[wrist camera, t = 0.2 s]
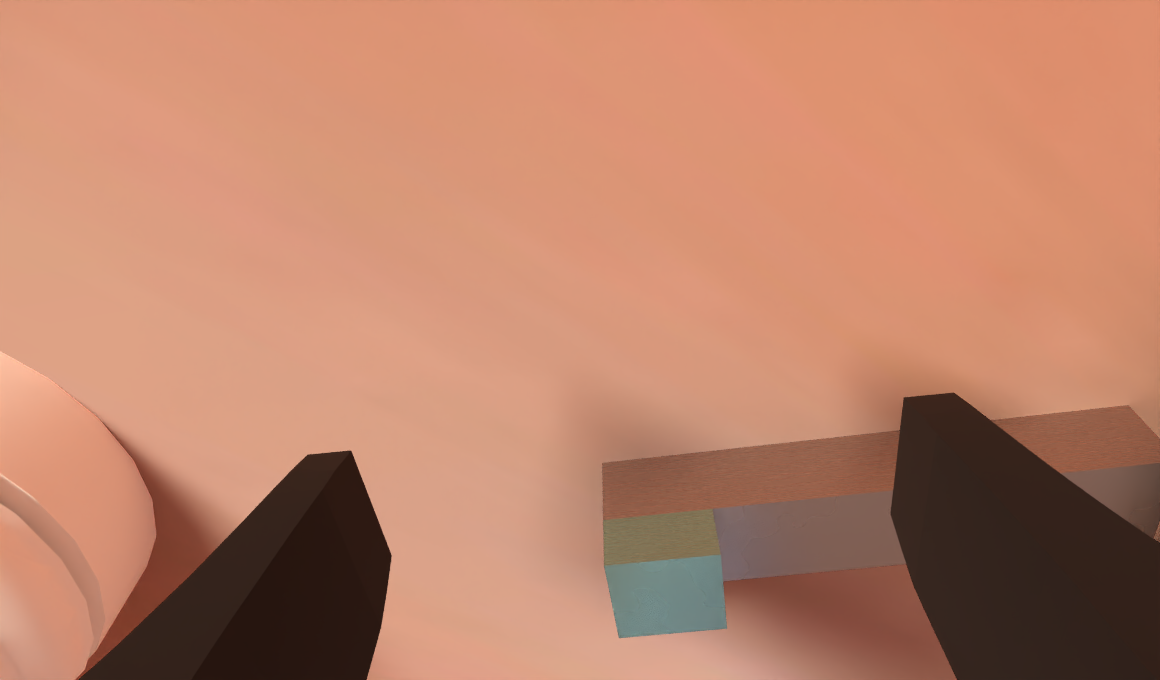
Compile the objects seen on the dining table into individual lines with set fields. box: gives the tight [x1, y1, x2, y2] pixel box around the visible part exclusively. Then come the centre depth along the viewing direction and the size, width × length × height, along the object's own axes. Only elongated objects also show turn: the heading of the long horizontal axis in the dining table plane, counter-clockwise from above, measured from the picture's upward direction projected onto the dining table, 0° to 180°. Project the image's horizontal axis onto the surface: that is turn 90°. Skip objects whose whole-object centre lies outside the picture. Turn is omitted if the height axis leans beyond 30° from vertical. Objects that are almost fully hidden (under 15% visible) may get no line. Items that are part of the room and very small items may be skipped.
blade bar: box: [602, 405, 1160, 638], centre depth 22 cm, size 3×15×4 cm, turn 99°
